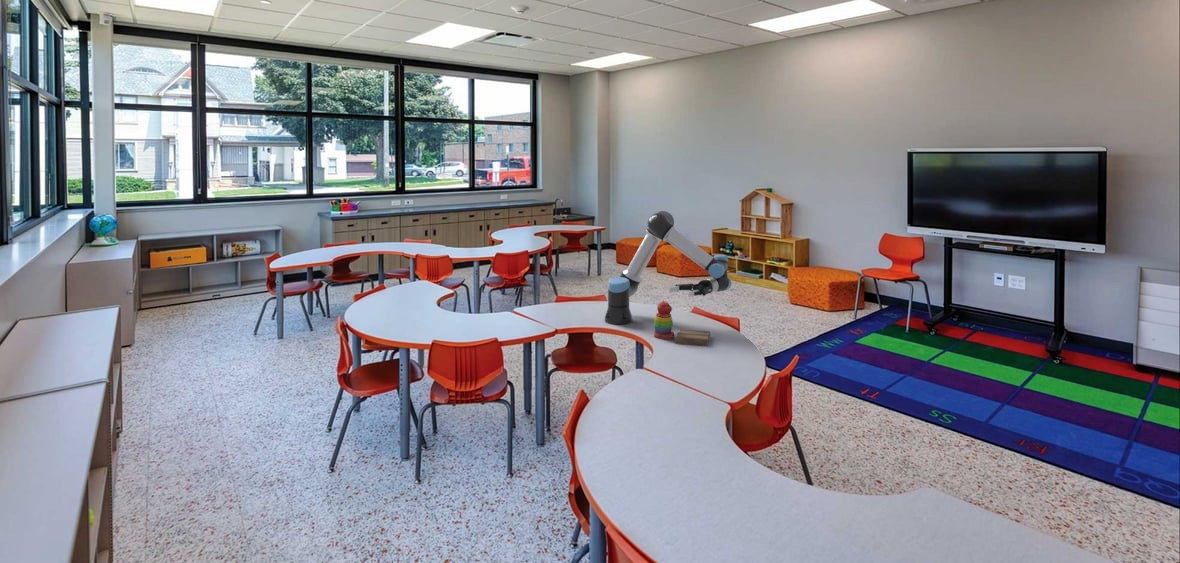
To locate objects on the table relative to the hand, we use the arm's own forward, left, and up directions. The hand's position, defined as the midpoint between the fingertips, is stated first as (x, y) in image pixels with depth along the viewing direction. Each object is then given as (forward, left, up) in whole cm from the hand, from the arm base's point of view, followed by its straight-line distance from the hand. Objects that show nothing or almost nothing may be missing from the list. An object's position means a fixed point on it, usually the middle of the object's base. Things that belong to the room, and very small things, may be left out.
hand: (679, 292), depth 308 cm
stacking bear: (+8, -6, -22) cm, 24 cm away
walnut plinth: (+10, +9, -22) cm, 26 cm away
